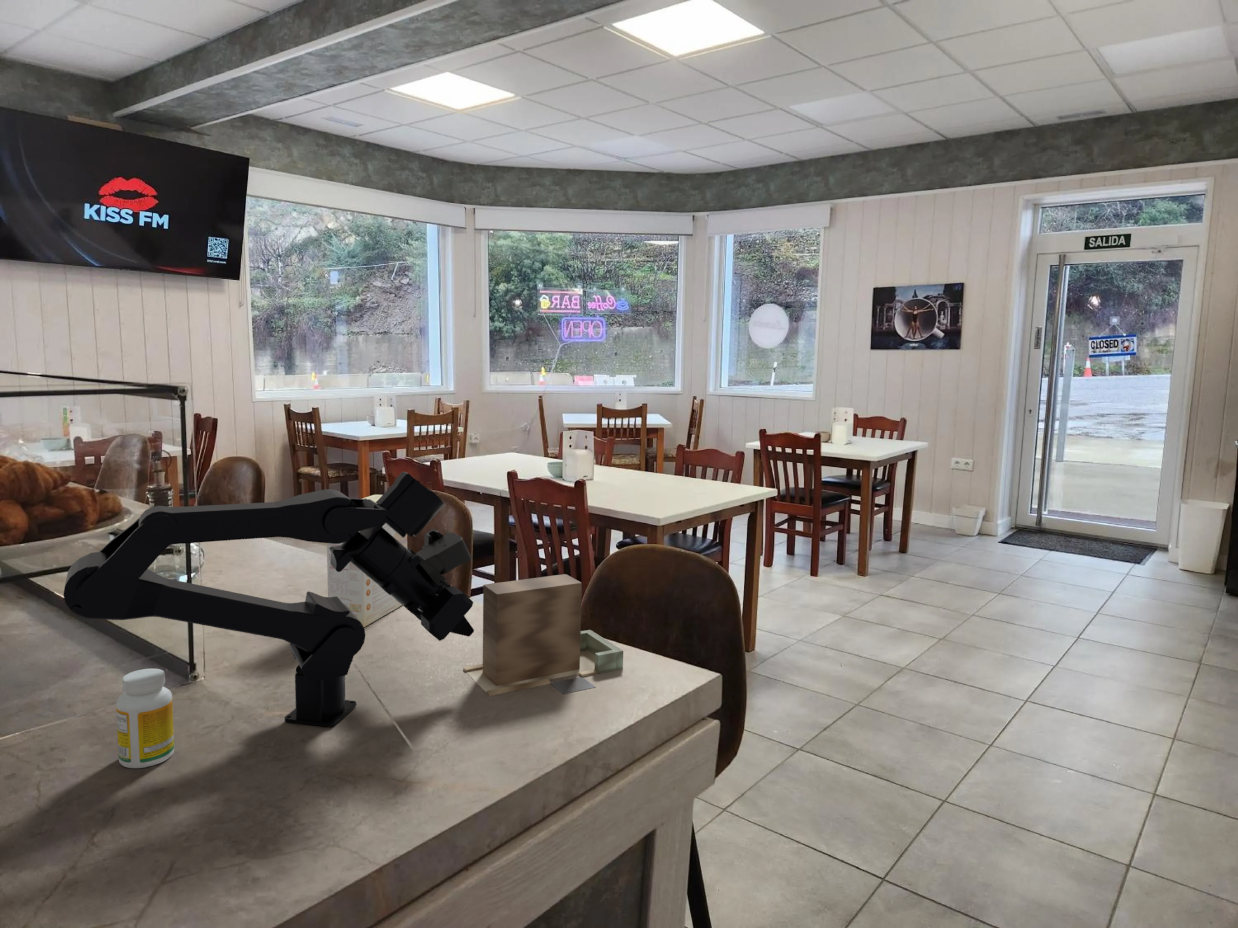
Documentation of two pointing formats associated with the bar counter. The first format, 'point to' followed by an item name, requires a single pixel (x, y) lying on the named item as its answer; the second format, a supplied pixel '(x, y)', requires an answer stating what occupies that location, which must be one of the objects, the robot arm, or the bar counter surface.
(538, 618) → the walnut block
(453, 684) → the bar counter surface
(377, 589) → the coffeecake box
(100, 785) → the bar counter surface
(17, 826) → the bar counter surface
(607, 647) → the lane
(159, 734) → the supplement bottle
